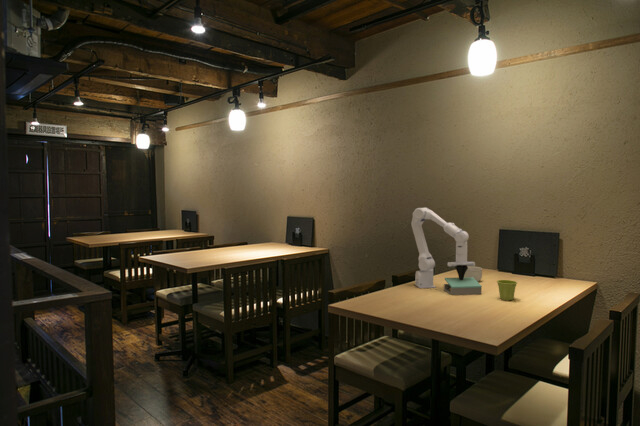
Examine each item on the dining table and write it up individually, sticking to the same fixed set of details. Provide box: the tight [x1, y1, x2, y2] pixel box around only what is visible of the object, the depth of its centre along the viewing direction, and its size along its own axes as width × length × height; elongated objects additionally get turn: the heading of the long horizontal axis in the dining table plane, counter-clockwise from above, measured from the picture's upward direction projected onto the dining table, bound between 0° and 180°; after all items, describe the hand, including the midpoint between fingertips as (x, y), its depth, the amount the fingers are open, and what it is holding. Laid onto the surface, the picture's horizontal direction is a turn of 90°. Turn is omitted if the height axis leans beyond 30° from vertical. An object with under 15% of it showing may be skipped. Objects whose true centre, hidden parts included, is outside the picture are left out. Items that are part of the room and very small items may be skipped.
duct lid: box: [444, 277, 483, 288], centre depth 223 cm, size 16×10×1 cm, turn 96°
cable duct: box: [443, 283, 483, 296], centre depth 224 cm, size 16×10×4 cm, turn 96°
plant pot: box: [496, 279, 518, 301], centre depth 211 cm, size 9×9×9 cm
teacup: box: [464, 266, 483, 283], centre depth 252 cm, size 14×11×8 cm
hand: (461, 279), depth 226 cm, fingers closed, pressing on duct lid
